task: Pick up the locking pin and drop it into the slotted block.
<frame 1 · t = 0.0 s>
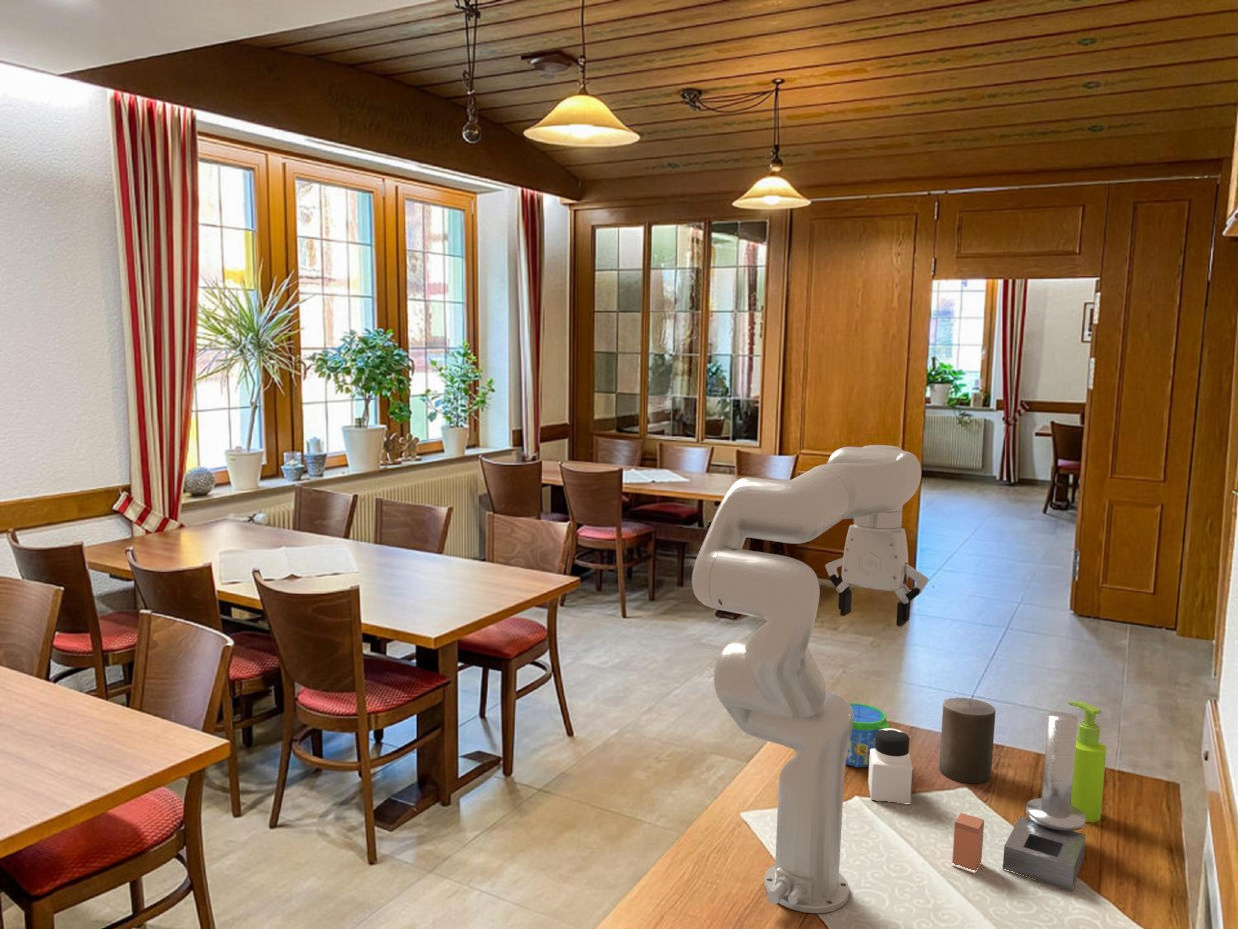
hand: (872, 619, 152), 37 cm above the table, tool pointing down, fingers open, 9 cm apart
slotted block: (1047, 855, 148), on the table
medicine bottle: (889, 795, 168), on the table
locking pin: (966, 865, 145), on the table
snack cup: (856, 761, 182), on the table
soap dispenser: (1079, 813, 162), on the table
pillar candle: (964, 773, 178), on the table
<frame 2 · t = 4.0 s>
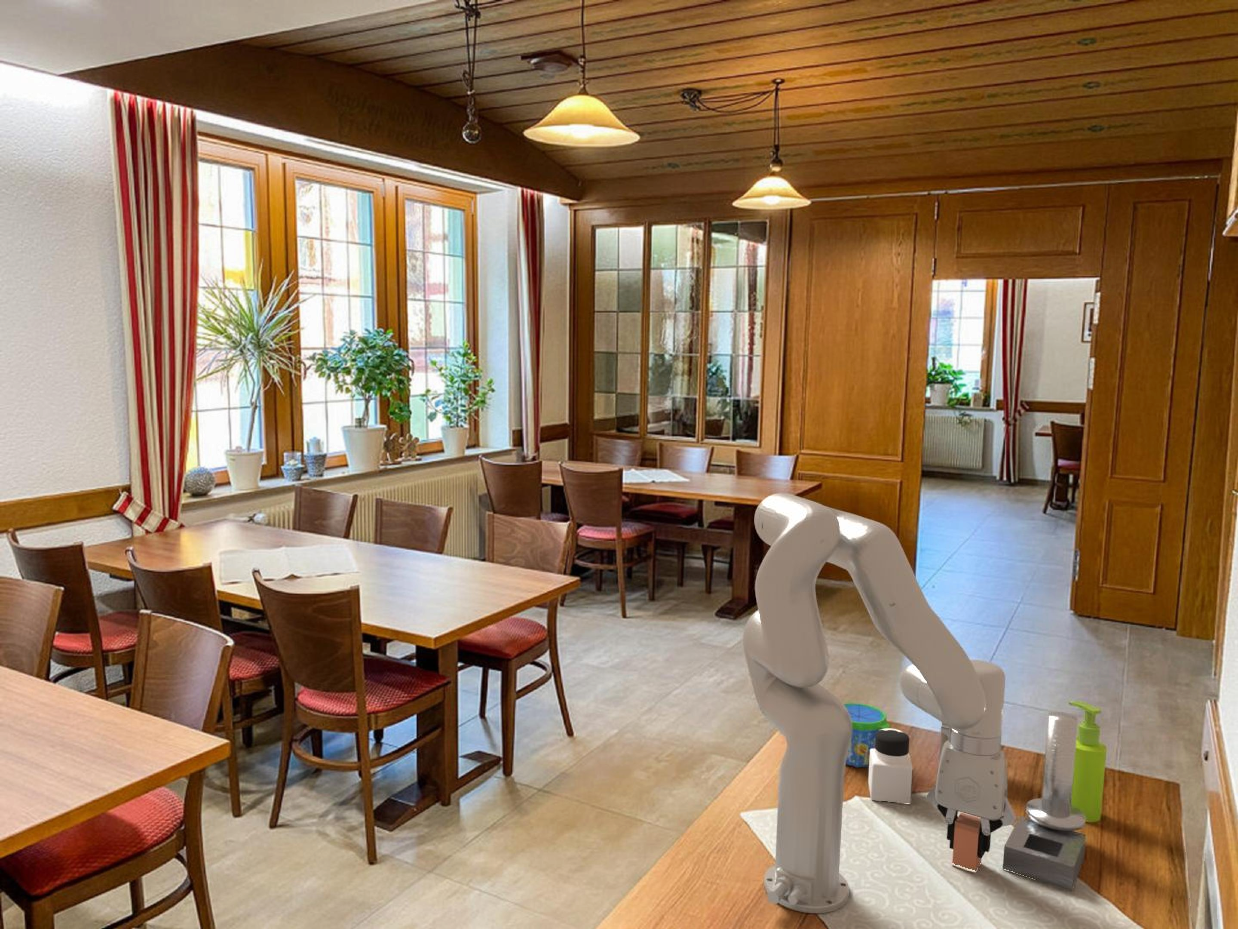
hand: (967, 848, 144), 3 cm above the table, tool pointing down, fingers closed on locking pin, 3 cm apart
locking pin: (966, 864, 145), on the table, touching gripper
everything else where it was.
when the fingers open (5 cm above the table, at t = 8.4 s): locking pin drops 2 cm, resting in slotted block.
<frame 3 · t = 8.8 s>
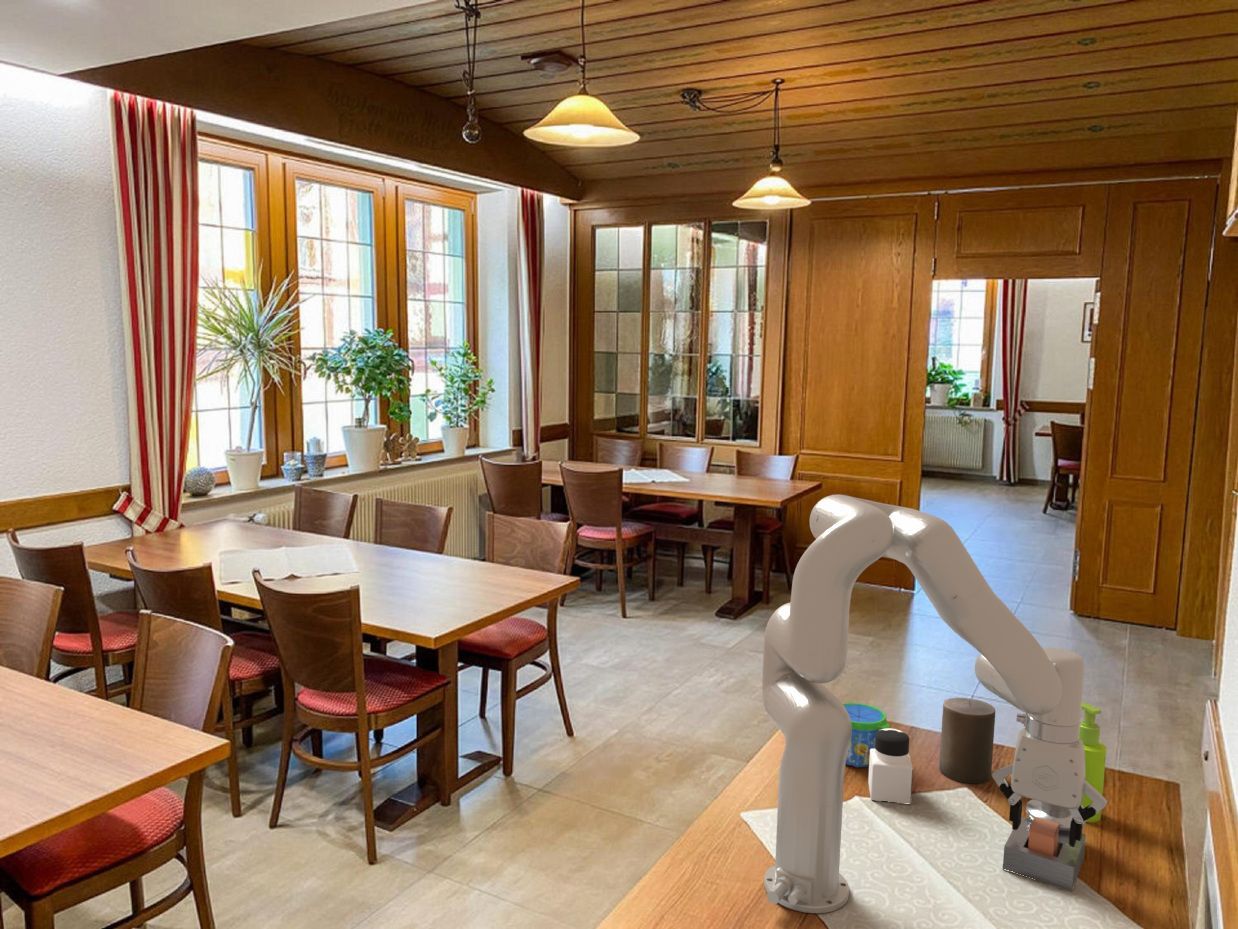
hand: (1044, 834, 143), 6 cm above the table, tool pointing down, fingers open, 7 cm apart
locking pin: (1041, 869, 144), resting in slotted block
everything else where it was.
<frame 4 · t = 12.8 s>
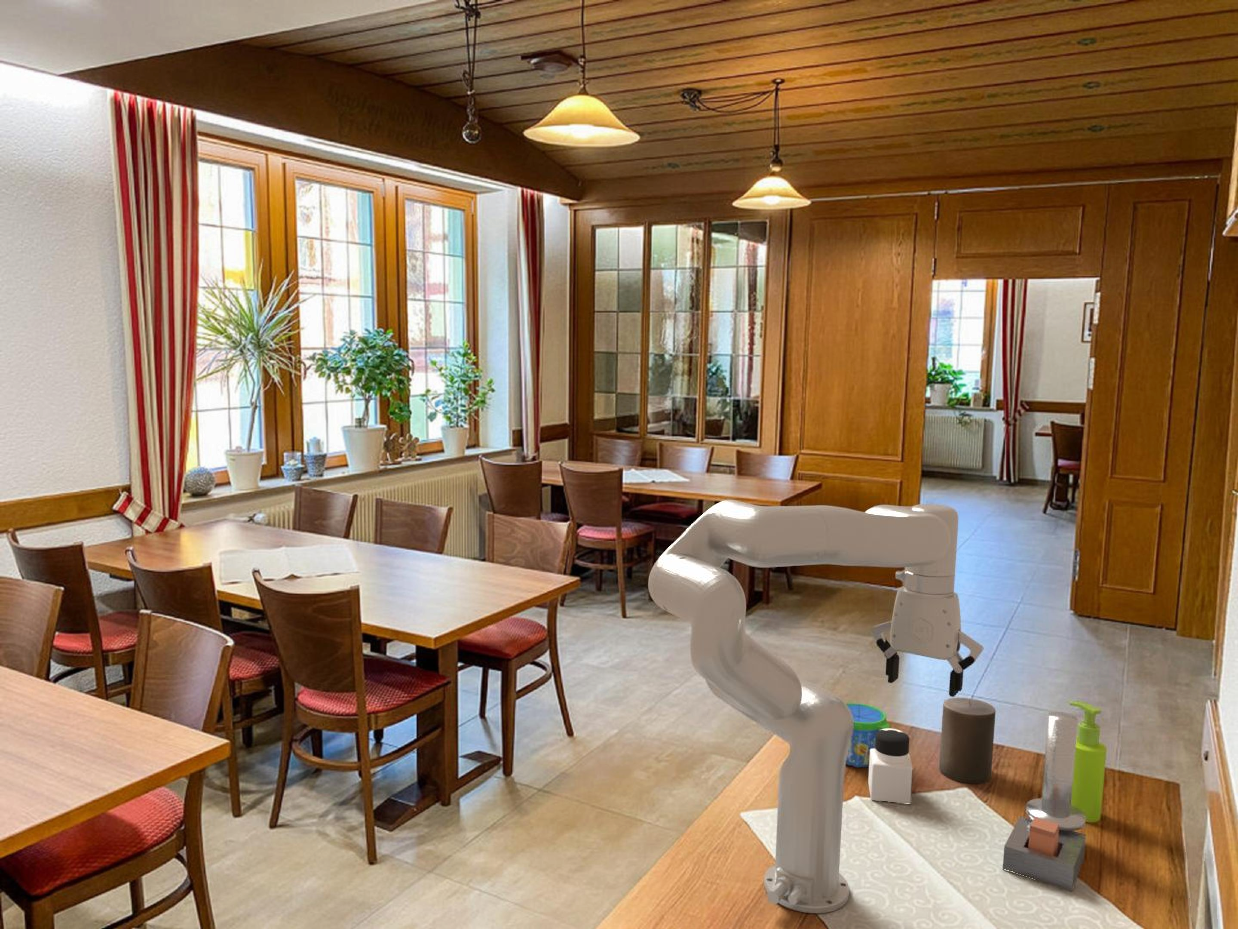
hand: (922, 687, 144), 28 cm above the table, tool pointing down, fingers open, 9 cm apart
nothing on the table moved.
at the end: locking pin 0.1 cm from the target spot on the slotted block, point 0.0 cm above the slotted block's base; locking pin tilted 0°; the gripper is holding nothing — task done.
